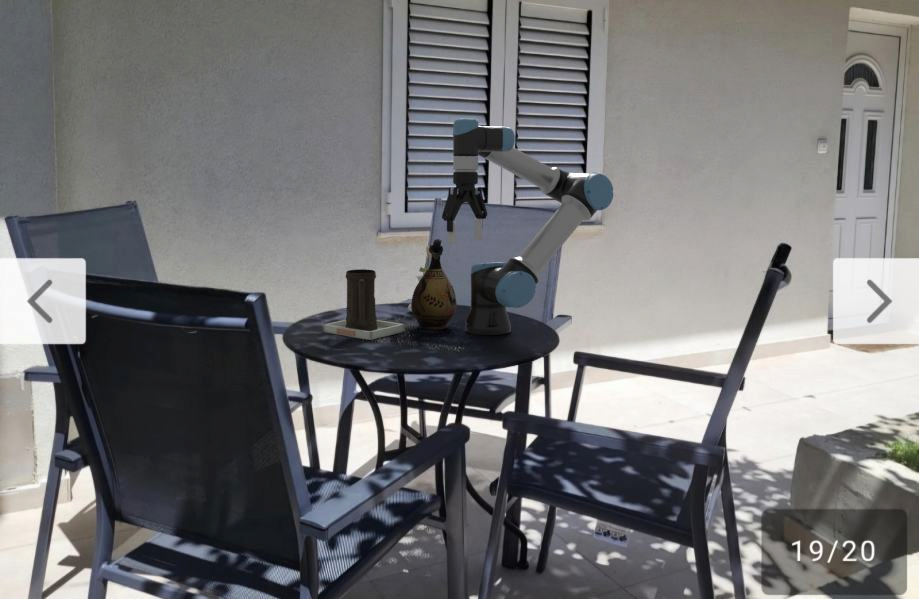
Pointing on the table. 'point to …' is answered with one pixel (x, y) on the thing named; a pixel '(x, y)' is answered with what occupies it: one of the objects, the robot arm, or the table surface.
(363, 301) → the beer stein
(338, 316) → the table surface
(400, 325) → the tray
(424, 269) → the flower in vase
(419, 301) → the ceramic jug
